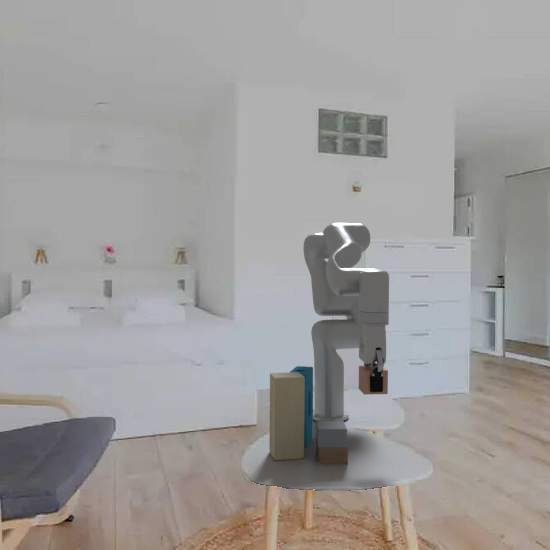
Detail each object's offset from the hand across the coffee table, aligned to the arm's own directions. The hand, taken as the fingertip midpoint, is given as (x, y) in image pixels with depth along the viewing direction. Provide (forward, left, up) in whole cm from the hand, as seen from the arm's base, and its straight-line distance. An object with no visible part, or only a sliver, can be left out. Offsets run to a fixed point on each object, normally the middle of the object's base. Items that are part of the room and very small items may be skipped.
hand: (372, 387), depth 138 cm
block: (-14, -17, -18) cm, 28 cm away
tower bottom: (+1, -11, -18) cm, 21 cm away
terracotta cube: (0, 0, -1) cm, 1 cm away
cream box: (-4, -22, -18) cm, 29 cm away
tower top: (+1, -11, -14) cm, 18 cm away
